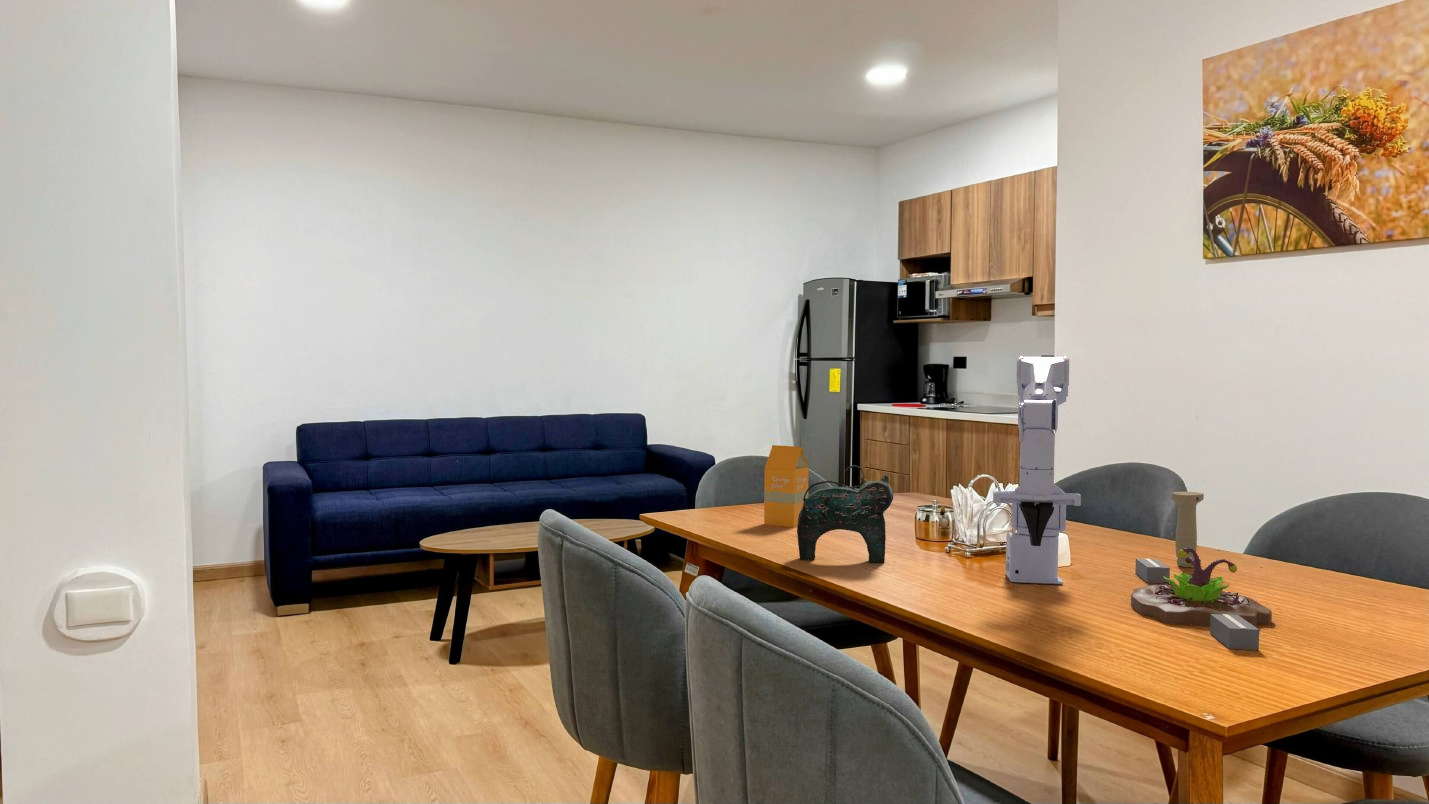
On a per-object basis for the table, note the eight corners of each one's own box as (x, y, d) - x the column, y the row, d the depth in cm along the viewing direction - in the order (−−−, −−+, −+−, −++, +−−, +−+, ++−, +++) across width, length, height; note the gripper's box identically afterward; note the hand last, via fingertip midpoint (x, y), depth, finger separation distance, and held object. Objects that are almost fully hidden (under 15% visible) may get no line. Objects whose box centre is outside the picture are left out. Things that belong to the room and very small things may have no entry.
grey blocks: (1229, 648, 139) (1229, 627, 138) (1135, 573, 188) (1135, 557, 188) (1258, 650, 138) (1259, 629, 138) (1156, 574, 187) (1157, 558, 187)
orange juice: (794, 527, 238) (794, 448, 238) (763, 524, 243) (764, 446, 242) (808, 523, 245) (809, 445, 244) (778, 520, 250) (779, 444, 249)
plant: (1111, 598, 169) (1113, 536, 169) (1222, 599, 169) (1224, 536, 169) (1163, 630, 149) (1165, 559, 149) (1288, 631, 149) (1291, 560, 149)
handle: (1206, 567, 194) (1208, 494, 193) (1184, 570, 191) (1186, 495, 191) (1186, 562, 198) (1188, 491, 198) (1164, 565, 196) (1166, 492, 195)
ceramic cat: (892, 559, 201) (893, 464, 200) (893, 565, 194) (894, 468, 193) (798, 555, 204) (798, 462, 203) (795, 562, 198) (796, 466, 197)
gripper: (997, 469, 164) (995, 547, 165) (1085, 471, 162) (1083, 550, 162) (992, 465, 171) (990, 540, 172) (1076, 467, 169) (1075, 543, 169)
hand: (1035, 545), depth 168 cm, fingers closed
